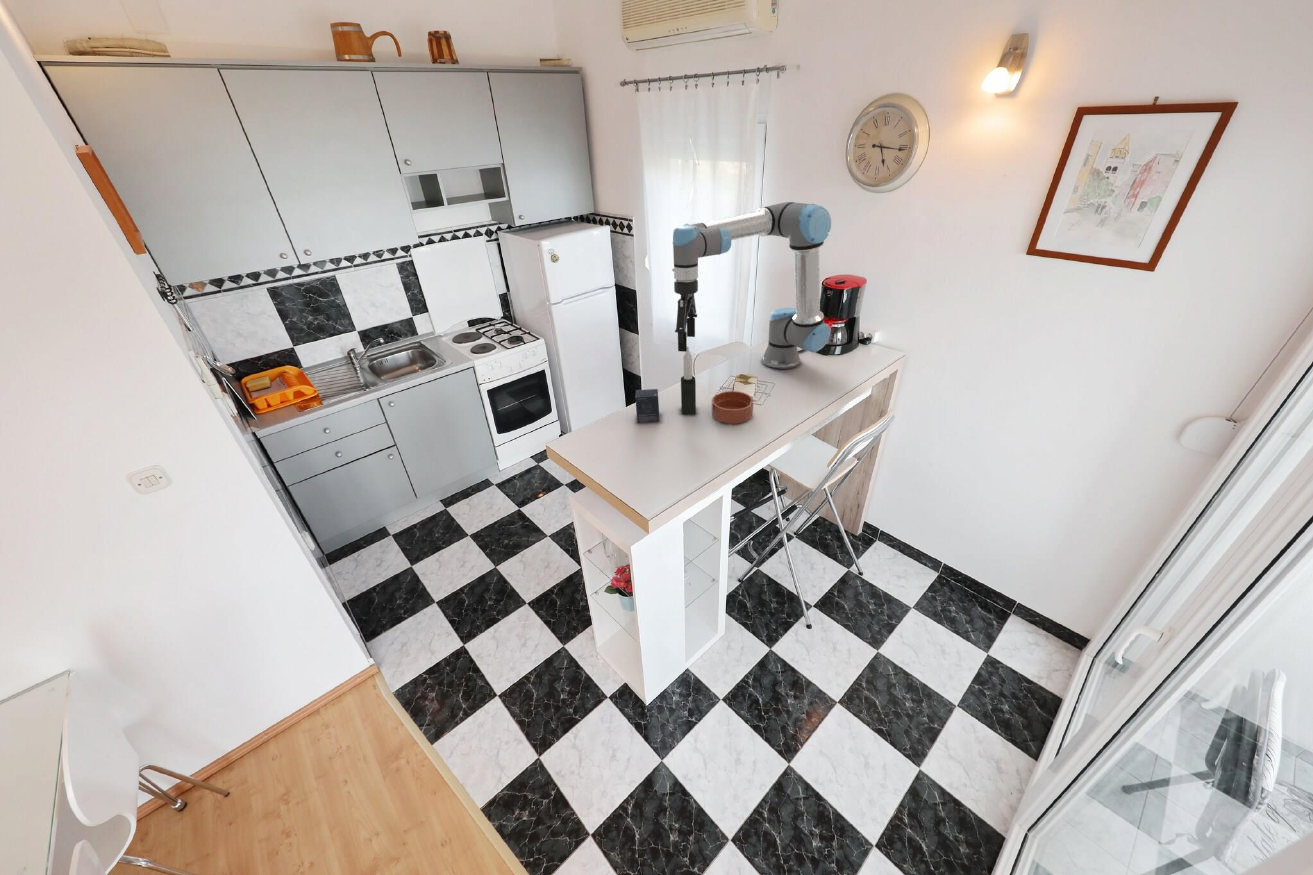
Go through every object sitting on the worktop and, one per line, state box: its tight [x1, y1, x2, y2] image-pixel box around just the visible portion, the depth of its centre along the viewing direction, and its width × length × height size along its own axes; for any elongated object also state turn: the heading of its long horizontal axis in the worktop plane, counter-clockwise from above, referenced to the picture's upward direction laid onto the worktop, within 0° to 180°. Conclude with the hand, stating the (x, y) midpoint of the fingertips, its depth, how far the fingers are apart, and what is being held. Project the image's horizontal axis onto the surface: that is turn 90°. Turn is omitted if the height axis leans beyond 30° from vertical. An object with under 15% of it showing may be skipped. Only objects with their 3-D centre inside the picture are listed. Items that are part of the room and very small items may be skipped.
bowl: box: [711, 390, 755, 425], centre depth 177 cm, size 14×14×6 cm
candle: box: [680, 345, 697, 416], centre depth 176 cm, size 5×5×25 cm
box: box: [634, 388, 660, 424], centre depth 176 cm, size 8×6×11 cm
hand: (686, 343), depth 168 cm, fingers open, 13 cm apart
